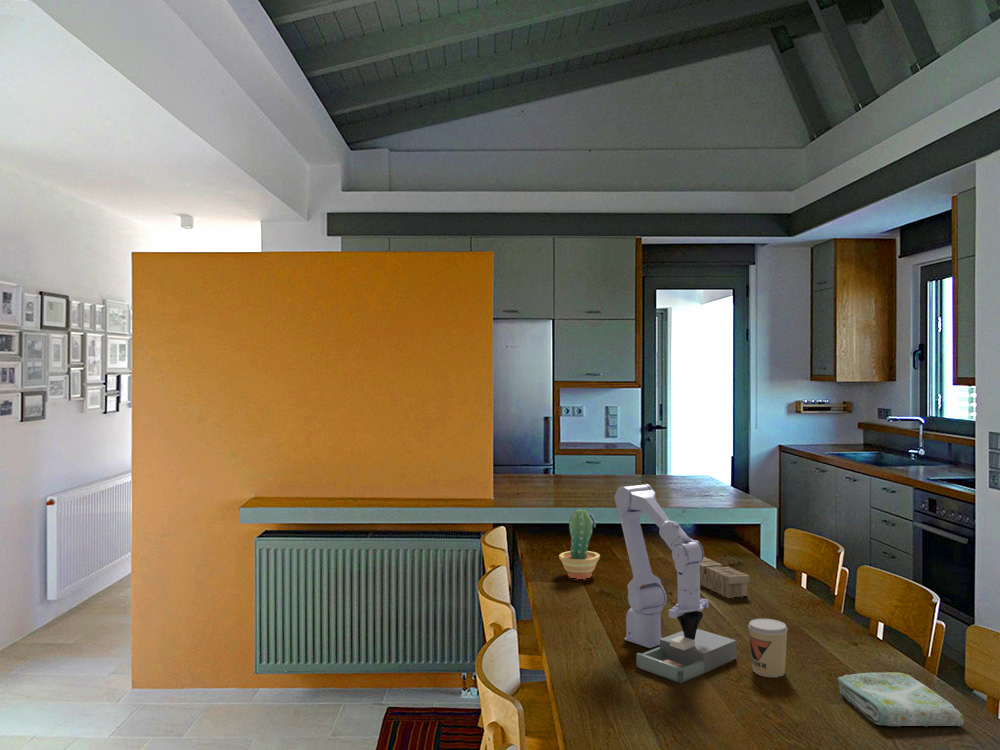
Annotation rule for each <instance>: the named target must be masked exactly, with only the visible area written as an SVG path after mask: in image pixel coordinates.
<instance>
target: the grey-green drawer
mask: <svg viewBox="0 0 1000 750" xmlns="http://www.w3.org/2000/svg"><path fill="white" fill-rule="evenodd" d="M635 655H636V657H635V658H636V668H638V669H641V670H643V671H646V672H649V673H652V674H654V675H657V676H659V677H662V678H665V679H668V680H670V681H672V682H675V683H679V684H682V683H683V684H684V683H685V682H688V681H690V680H692V679H695V678H698V677H699V676H701V675H704V674H705V673H704V661H701V660H700V661H698V662H696V663H693V664H691V665H688V666H686V665H683V664H681V663H678V662H676V663H678V664H681V667H678V666H675V665H672V664H670V663H667V662H664V661H665V660H669V659H666V658H663V648H662V647H660V646H658V647H654V648H652V649H651V650H650V649H649V650H648V651H644V652H643V653H641V652H636V654H635ZM670 661H672V660H670ZM673 662H675V661H673Z"/></svg>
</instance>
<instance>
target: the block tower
mask: <svg viewBox="0 0 1000 750" xmlns="http://www.w3.org/2000/svg"><path fill="white" fill-rule="evenodd" d="M699 568H700V586H701V585H702V586H701V587H703V586H704V587H706V588H708V589H711V590H713V591H715V592H717V593H719V594H721V595H723V596H725V597H727V598H732V599H735V598H734V597H741V598H744V597H743V596H747V597H748V583H750V575H749V574H747V573H745V572H741V571H739V570H737V569H734V568H731V567H729V566H723V564H722V563H720V562H717V561H715V560H713V559H710V558H708V557H706V556H704V558H703V560H702V562H700V563H699ZM704 587H703V588H704ZM706 588H705V589H706ZM708 589H707V590H708ZM711 590H710V591H711ZM719 594H718V595H719ZM721 595H720V596H721ZM723 596H722V597H723ZM725 597H724V598H725ZM727 598H726V599H727Z"/></svg>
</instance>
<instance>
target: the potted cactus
mask: <svg viewBox="0 0 1000 750" xmlns="http://www.w3.org/2000/svg"><path fill="white" fill-rule="evenodd" d="M596 519H597V518H596V517H595V515H594V514H593V513H592V512H590V511H587V510H586V509H583V510H582V509H581V508H579V509H575V510H574V511H573V512H572V514H571V515H570V517H569V519H568V526H569V527H568V528H569V529H568V530H569V534H570V539H571V540H570V550H569V551H564V552H561V553H560V554H558V558H559V560H560V561H561V562H562V566H563V568H564V570H565V571H566V573H568V574H567V577H568V576H569V577H571V578H577V579H576V580H578V579H583V580H587V579H586V578H589V579H591V578H592V577H593V574H592V573H593V572H594V570H595V568H596V567H597V563H598V562H599V560H600V559H601V554H600V553H598V552H595V551H589V550H588V548H589V544H590V540H591V537H592V534H593V527H594V528H596V525H597V520H596ZM591 576H592V577H591ZM569 577H568V578H569ZM590 577H591V578H590ZM571 578H570V579H571Z"/></svg>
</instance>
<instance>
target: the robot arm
mask: <svg viewBox="0 0 1000 750" xmlns="http://www.w3.org/2000/svg"><path fill="white" fill-rule="evenodd" d="M656 495H657V494H656V492H655V491H654V490H653V488H652V486H651V485H650V484H648V483H643V484H637V485H628V486H627V485H626V486H624V485H623V486H622V485H621V486H619V487H618V488H617V489H616V492H615V494H614V501H615V507H616V510H617V515H618V517H619V519H620V523H621V528H622V532H623V538H624V541H625V546H626V550H627V554H628V559H629V564H630V567H631V572H632V576H633V577H632V579H630V581H629V583H628V584H627V587H626V588H627V591H628V592H627V593H628V594H627V602H628V605H629V607H630V608H629V609H628V610H627V613H626V616H625V626H626V627H625V629H626V630H625V631H626V632H625V633H626V634H625V635H626V636H625V637H624V640H625V641H627V642H630V643H634V644H636V645H639V646H643V647H645V648H648V649H653V648H656V647H657V646H660V639H662V638H663V637H662V627H661V624H662V623H661V621H662V619H661V618H662V617H661V613H662V612H661V611H663V610H664V609H663V608H664V606H665V605H666V603H667V601H668V600H667V599H668V596H667V592H666V590H665V588H664V586H663V584H662V580H661V579H660V577H658V576H656V575H655V574H653V571H652V568H651V564H650V560H649V554H648V552H647V547H646V546H647V545H646V542H645V538H644V534H643V529H642V526H641V522H640V518H641V516H642V515H644V514H646V515H647V516H648V518H650V520H651V521H653V522H654V524H655V525H656V526H657V527H658V528H659V532H658V533H659V534H658V535H659V536H660V537H661V539H662V540H663V541H664V542H665V543H666V545H667V546H668V548H669V549H670V550H671V551H672V552H671V557H672V560H673V562H674V568H675V571H676V572H677V573H676V574H677V576H676V577H677V578H676V579H677V581H676V583H677V603H676V604H675V605H674V606H672V608H670V609H668V618H670V619H674V620H676V619H677V620H678V621H679V624H680V626H681V629H682V631H683V633H684V637H686V638H689V639H692V640H694V639H695V635H696V631H697V629H698V628H699V624H700V622H701V620H702V618H703V617H704V614H703V612H702V611H704V608H709V606H710V605H709V604H710V601H709V599H706V598H704V597H703V598H701V585H700V568H699V563H700V562H702V560H703V558H704V557H705V550H704V547H703V546H702V544H701V542H700V541H699V540H696V539H695V540H694V539H693V538H691V537H689V536H688V534H687V533H686V532H685V530H684V529H682V527H681V526H680V524H679V522H677V521H676V520H675V521H674V520H670V518H668V516H667V515H666V513H665V511H664V510H663V509H662V506H660V504H659V503H658V501H657V498H656ZM646 585H647V586H646Z"/></svg>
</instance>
